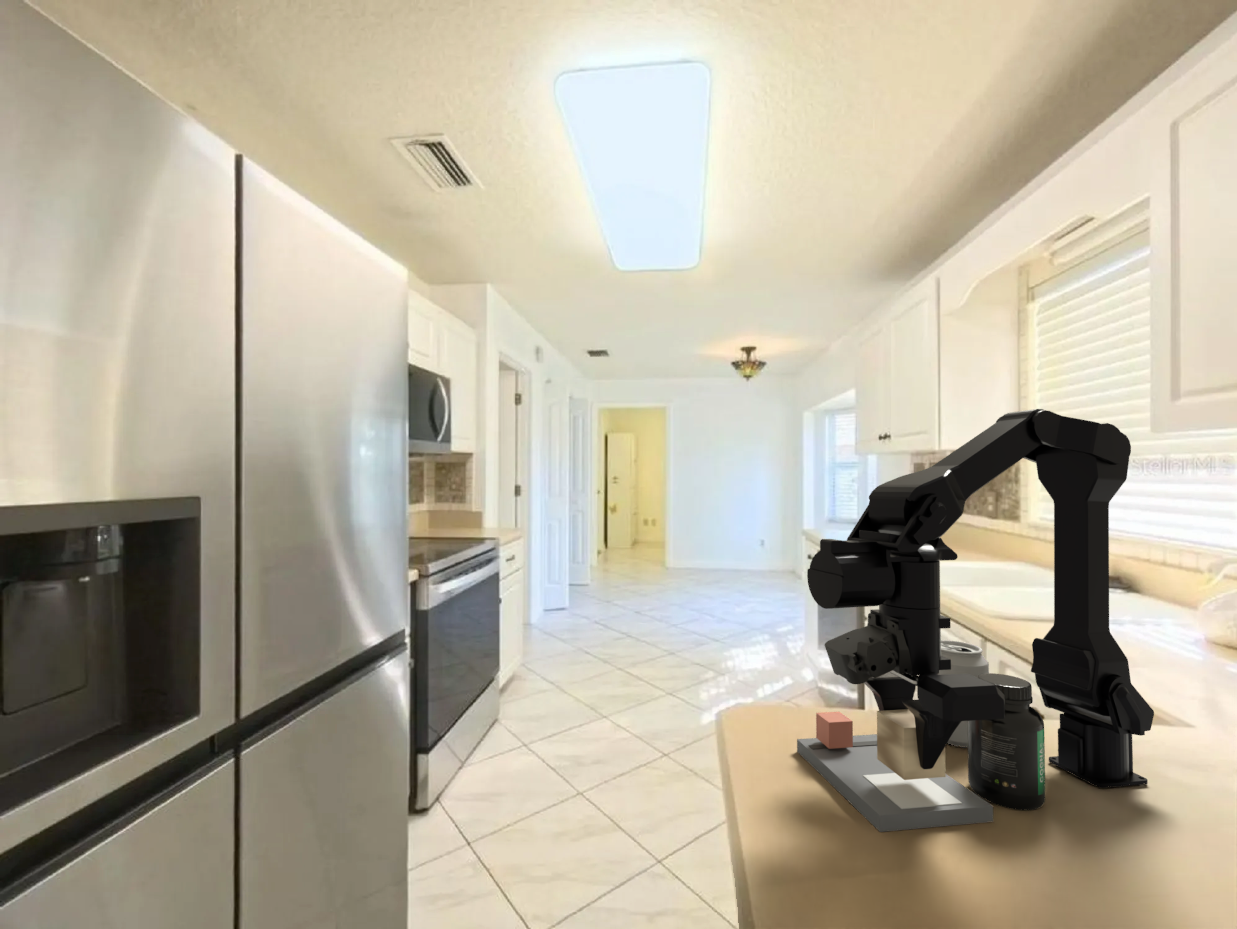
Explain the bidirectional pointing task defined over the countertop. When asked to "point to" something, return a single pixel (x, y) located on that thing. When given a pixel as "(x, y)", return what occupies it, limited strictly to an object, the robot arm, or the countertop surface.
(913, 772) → the block
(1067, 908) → the countertop surface
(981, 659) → the can
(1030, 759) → the supplement bottle
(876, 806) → the base
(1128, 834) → the countertop surface
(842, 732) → the salmon red cube
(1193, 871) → the countertop surface
